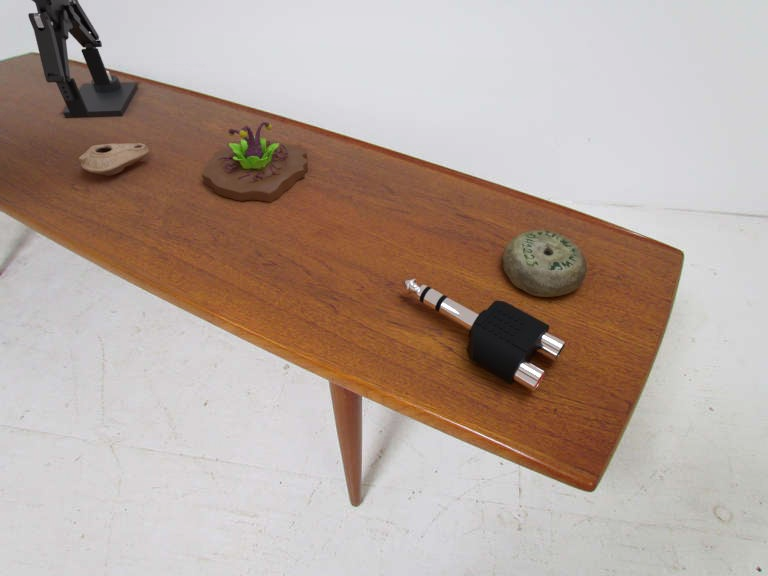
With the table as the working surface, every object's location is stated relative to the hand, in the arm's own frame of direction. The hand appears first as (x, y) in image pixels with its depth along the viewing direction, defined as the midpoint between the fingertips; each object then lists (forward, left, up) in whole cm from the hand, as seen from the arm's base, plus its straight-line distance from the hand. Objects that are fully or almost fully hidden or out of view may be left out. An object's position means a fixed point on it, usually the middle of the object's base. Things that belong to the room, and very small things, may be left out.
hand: (92, 99), depth 92 cm
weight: (+77, -38, -15) cm, 87 cm away
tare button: (-12, +37, -12) cm, 41 cm away
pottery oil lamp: (0, 0, -15) cm, 15 cm away
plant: (+28, -4, -15) cm, 32 cm away
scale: (-12, +32, -15) cm, 37 cm away
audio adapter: (+62, -50, -15) cm, 81 cm away
